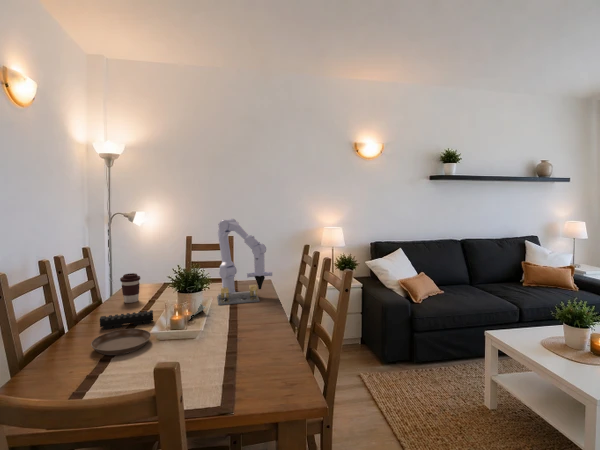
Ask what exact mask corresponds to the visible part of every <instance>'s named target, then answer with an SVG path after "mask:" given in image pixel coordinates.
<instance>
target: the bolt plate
mask: <svg viewBox="0 0 600 450" xmlns="http://www.w3.org/2000/svg"><path fill="white" fill-rule="evenodd" d="M216 299H217V305H218V306H222V305H223V306H225V305H226V306H227V305H237V304H238V305H239V304H250V303H259V302H260V298H259V296H258V295H257V296H256V297H255V298H254V296H249V297H236V298H226V301H225V300H224V299H218V295H217V298H216Z"/></svg>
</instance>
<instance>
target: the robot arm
mask: <svg viewBox="0 0 600 450" xmlns="http://www.w3.org/2000/svg"><path fill="white" fill-rule="evenodd" d="M231 232H234V233H236V234H237V235H239V236H240V237H241V238H242V239H243V240H244V243H245V245H246V246H247V247H248V248H249V249H250V250H251V252H252V254H253V258H254V259H253V260H254V261H253V262H254V264H253V265H254V269H253V270H254V272H250V273H246V278H247V279H248V278H254V279H255V281H256V285H257V290H262V287H263V283H264V281H265V279H266V277H273V271H265V270H266V269H265V253H266V252H267V247H266V245H265V244H263V243H261V242H260V241H258V240H257V239H256V238H255V235H252V234H251V235H250V234H249V233H247V232H246V230H244V229H243V227H242V226H241V225H240V223H239V222H238V221H237V220H236V219H235V218H231V219H230V218H229V219H221V221H220V222H218V232H217V238H218V243H219V250H220V258H221V264H220V265H219V271H218V272H219V273H218V274H219V277H220V278H221V285H222V286H221V288H224V287H228V289H229V293H232V292H236V289H235V277H236V274H237V272H238V270H237V268H236V265H235V262H233V261H232V257H231V256H232V255H231V249H230V248H231V247H230V243H229V242H230V241H229V234H230V233H231Z"/></svg>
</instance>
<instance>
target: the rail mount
mask: <svg viewBox="0 0 600 450" xmlns="http://www.w3.org/2000/svg"><path fill="white" fill-rule="evenodd" d="M152 321H154V310H153V309H151V310H149V311H147V310H144V311H138V312H132V313H131V312H128V313H127V312H126V314H124V313H120V314H114V315H112V314H110V315H108V316H106V315H103V316H100V318H99V327H100V328H102V330H103V331H107V330H114V329H120V328H121V329H122V328H123V325H129V324H133V327H135V326H143V325H151V324H153V323H152Z"/></svg>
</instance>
